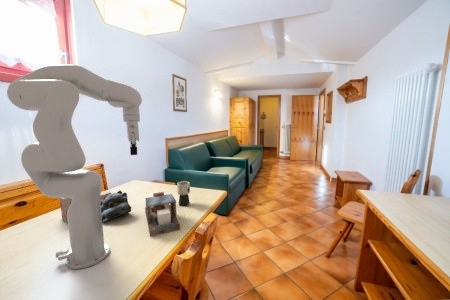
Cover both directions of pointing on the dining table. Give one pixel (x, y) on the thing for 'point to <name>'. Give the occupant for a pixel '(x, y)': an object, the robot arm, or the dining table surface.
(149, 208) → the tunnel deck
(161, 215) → the block
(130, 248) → the dining table surface
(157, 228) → the sled
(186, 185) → the character mug
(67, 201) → the stack of blocks
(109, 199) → the lucky cat figurine
